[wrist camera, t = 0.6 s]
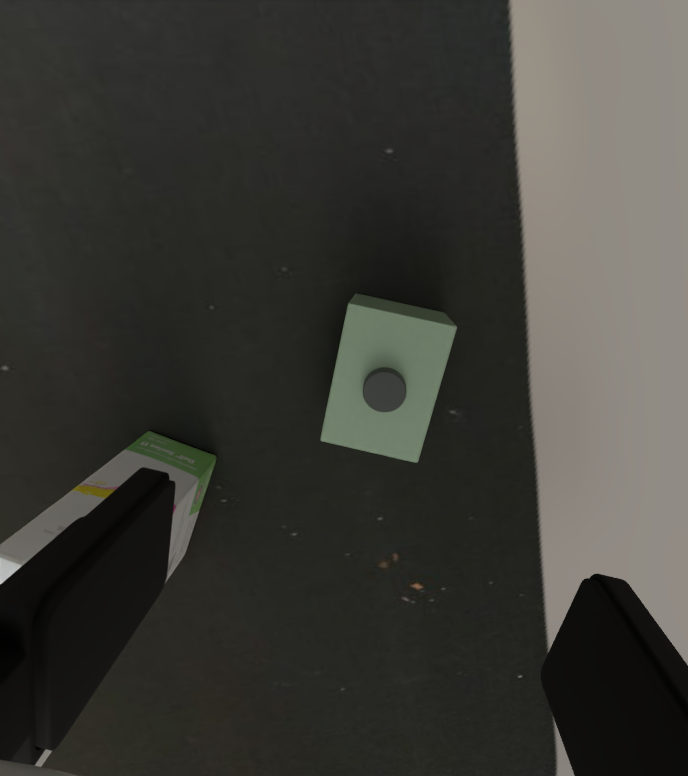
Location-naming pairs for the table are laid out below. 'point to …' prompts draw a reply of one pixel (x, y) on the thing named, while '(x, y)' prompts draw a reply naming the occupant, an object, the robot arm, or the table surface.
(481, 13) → the table surface
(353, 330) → the green knobbed block
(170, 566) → the ink box
